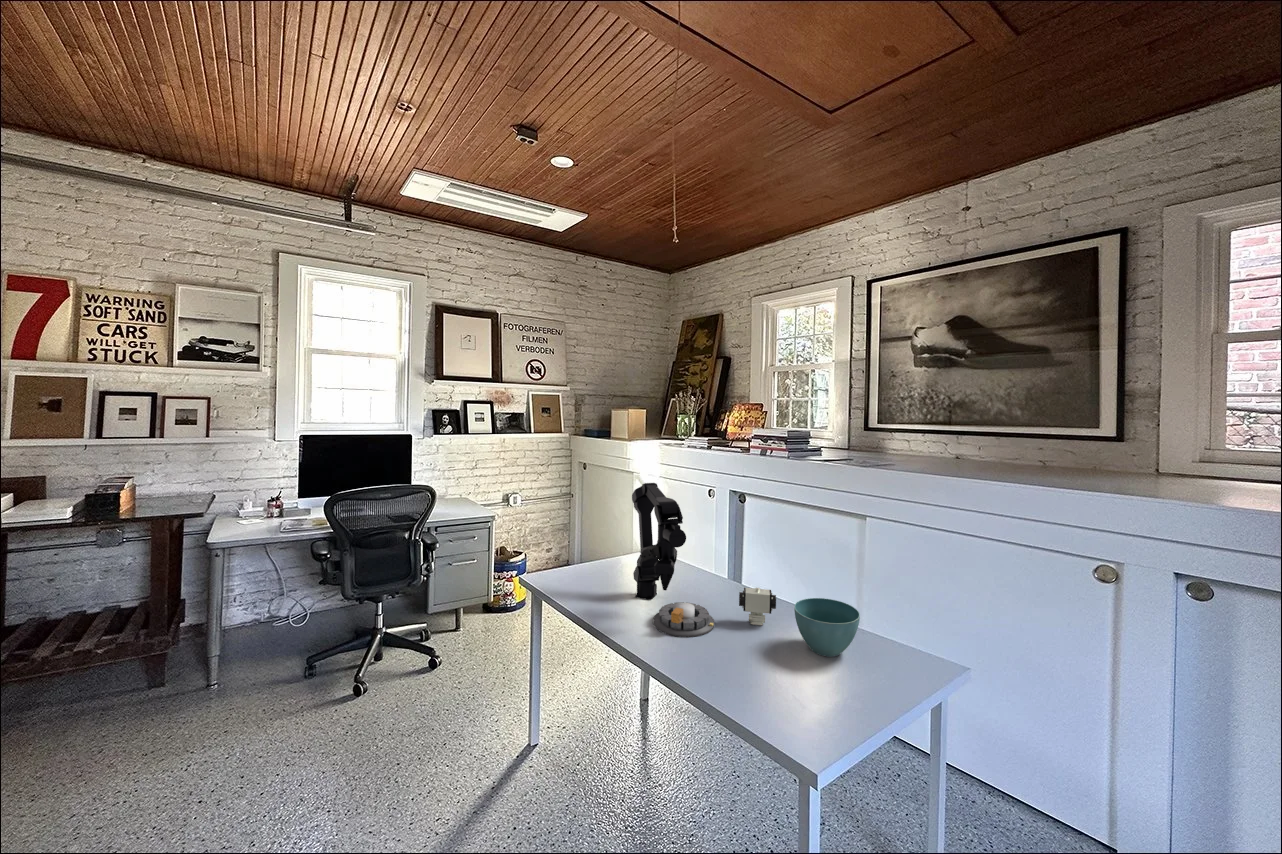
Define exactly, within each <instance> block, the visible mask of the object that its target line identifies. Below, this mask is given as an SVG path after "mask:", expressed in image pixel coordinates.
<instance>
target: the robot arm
mask: <svg viewBox="0 0 1282 854" xmlns="http://www.w3.org/2000/svg"><path fill="white" fill-rule="evenodd" d="M631 501H632V503H633V508H634V509H635V510H636V513H637V514H638V524H639V526H638V527H639V541H640V542H639V545H640V546H639V547H640V551H639V553H640V554H639V556H638V558H637V561H636V566H635V569H634V570H633V574H632V576H633V580H634V581H635V582H636V594H635V596H634V598H635V599H636V598H637V599H642V600H647V601H651V600H653V599H654V598H655V597H656V596H657V595H658V593H657V591H658V590H657V589H658V586H657V583H656V582H657V581H658V582H659V581H661V587H662V590H663V591H667V590H668V588H669V585H670V582H671V581H672V578H673V575H674V574H675V564H676V562H677V558H678V549H677V548H681V547H683V546H684V545H685V543H686V541H687V535H686V533H685V531H684V530H682V529H681V524H683V519H684V517H683V514H682V511H681V508H680V505H679V503H678V502H677V501H676V500H675V499H673V498H670V497H666V495H665V494H664V492H662V490H661V489H660V488H659V487H658V483H657V482H656V483H655V482H644V483H643V484H642V485H641V486H639V487H637V488H635V489H634V491H633V493H632V494H631ZM653 511H654V515H655V519H656V521H657V541H656V544H654V543H653V526H652V523H653V521H652V512H653Z"/></svg>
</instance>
